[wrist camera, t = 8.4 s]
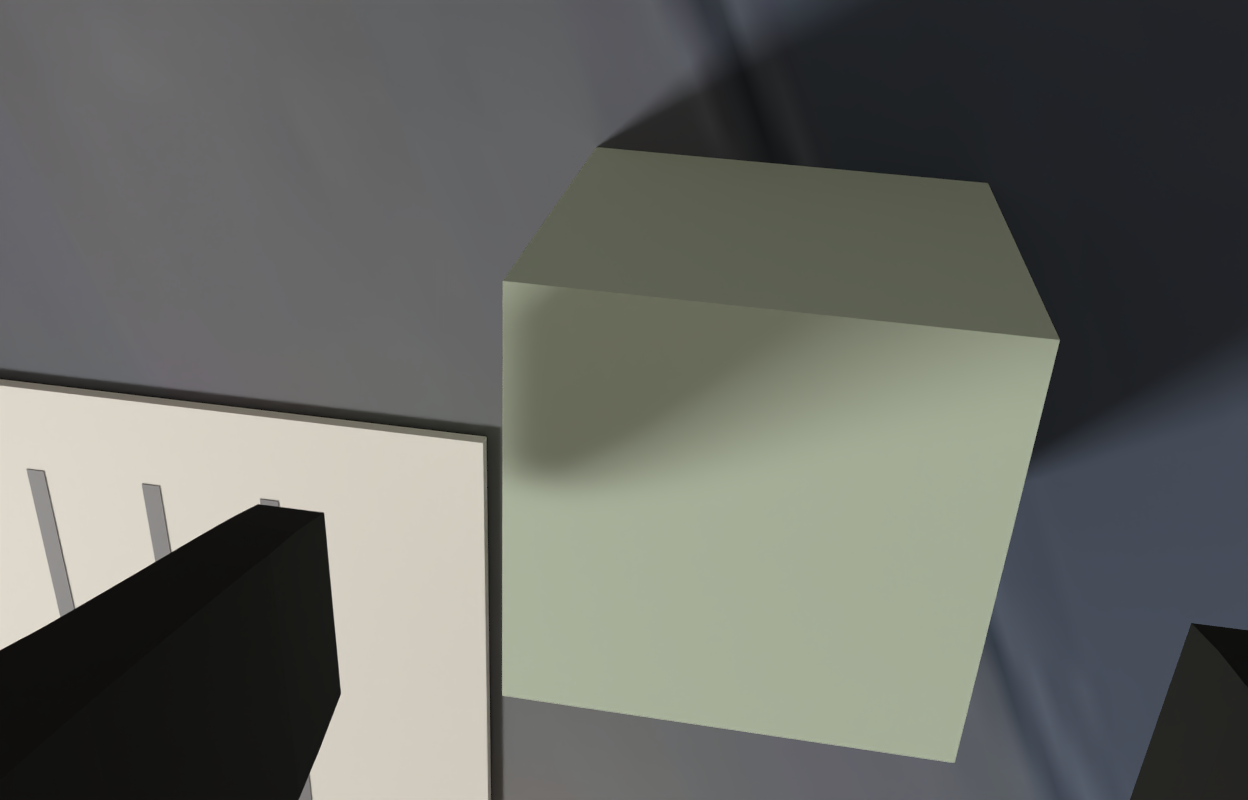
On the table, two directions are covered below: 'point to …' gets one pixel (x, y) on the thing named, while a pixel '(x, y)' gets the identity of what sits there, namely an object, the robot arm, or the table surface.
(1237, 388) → the table surface
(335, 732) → the letter
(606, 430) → the sage cube
